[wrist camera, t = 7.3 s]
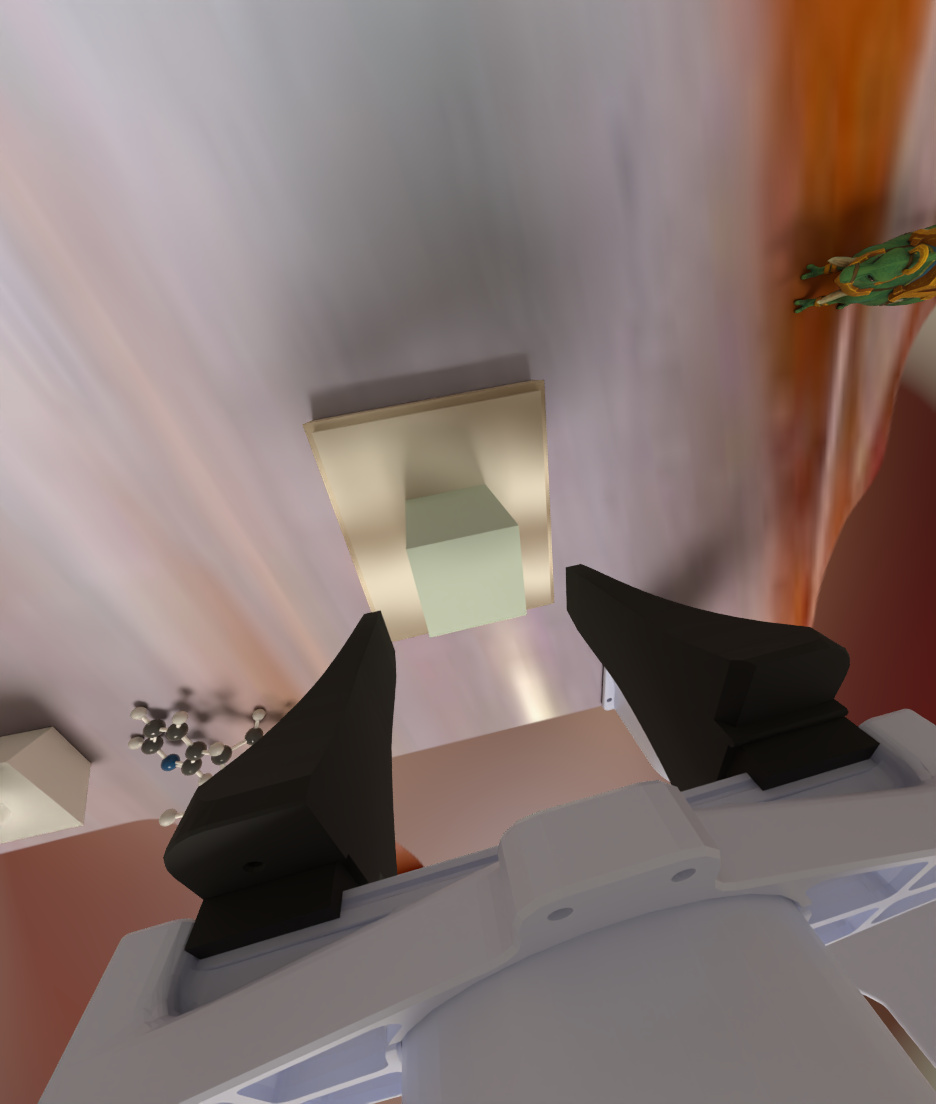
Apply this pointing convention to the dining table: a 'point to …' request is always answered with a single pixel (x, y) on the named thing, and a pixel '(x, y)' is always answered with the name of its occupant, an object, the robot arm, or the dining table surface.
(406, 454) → the birch base
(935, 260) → the figurine
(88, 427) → the dining table surface
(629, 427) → the dining table surface
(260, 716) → the molecule model
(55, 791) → the figurine
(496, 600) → the sage block
